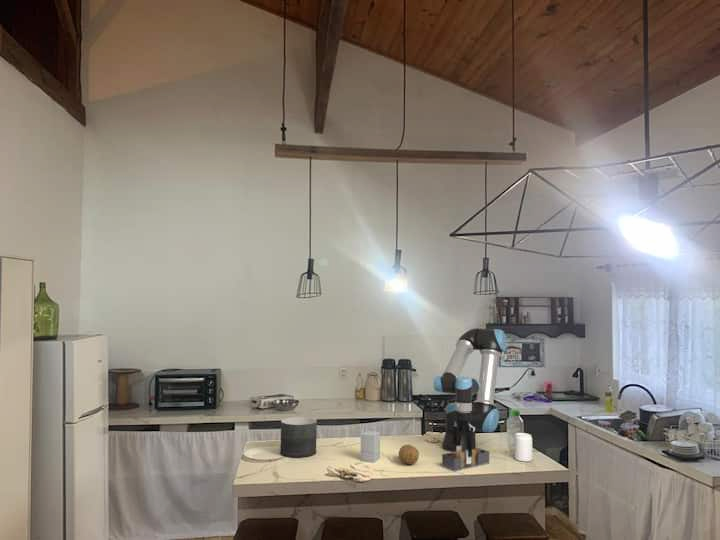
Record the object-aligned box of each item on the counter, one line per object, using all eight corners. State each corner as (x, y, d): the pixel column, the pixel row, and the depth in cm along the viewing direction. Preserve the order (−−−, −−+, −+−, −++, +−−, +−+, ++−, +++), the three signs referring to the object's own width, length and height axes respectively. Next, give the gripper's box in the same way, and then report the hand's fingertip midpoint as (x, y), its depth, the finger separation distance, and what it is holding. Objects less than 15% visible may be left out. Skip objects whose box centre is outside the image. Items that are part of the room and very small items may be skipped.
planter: (273, 455, 259) (274, 422, 260) (291, 446, 275) (292, 415, 276) (305, 459, 252) (306, 426, 253) (322, 450, 268) (322, 418, 269)
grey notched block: (454, 471, 237) (454, 458, 237) (442, 466, 244) (442, 454, 244) (489, 463, 249) (489, 451, 250) (476, 459, 256) (476, 447, 256)
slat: (455, 468, 240) (455, 454, 241) (450, 465, 243) (450, 452, 244) (480, 462, 249) (480, 449, 250) (475, 460, 252) (475, 447, 253)
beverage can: (533, 463, 251) (533, 437, 252) (515, 461, 253) (515, 436, 254) (531, 458, 259) (531, 433, 260) (514, 457, 261) (514, 432, 262)
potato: (415, 458, 256) (415, 441, 256) (421, 467, 242) (421, 450, 243) (395, 459, 255) (395, 442, 256) (400, 468, 241) (400, 450, 242)
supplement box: (380, 458, 255) (380, 432, 256) (374, 462, 249) (374, 435, 249) (366, 456, 258) (366, 430, 259) (360, 460, 252) (360, 433, 252)
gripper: (444, 408, 253) (443, 458, 251) (472, 415, 237) (472, 468, 236) (455, 406, 257) (455, 455, 255) (484, 413, 242) (484, 465, 240)
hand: (463, 461), depth 246 cm, fingers open, 5 cm apart
